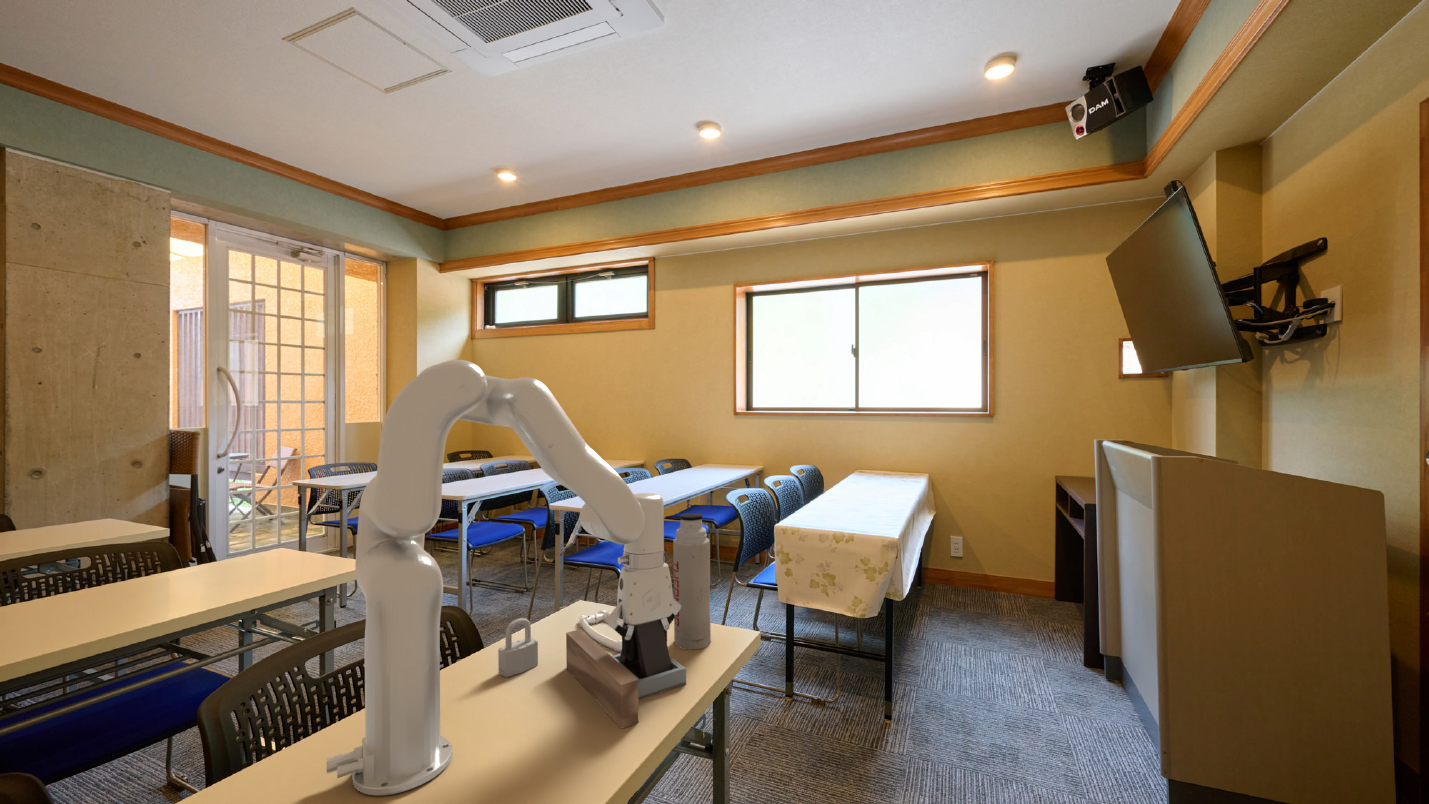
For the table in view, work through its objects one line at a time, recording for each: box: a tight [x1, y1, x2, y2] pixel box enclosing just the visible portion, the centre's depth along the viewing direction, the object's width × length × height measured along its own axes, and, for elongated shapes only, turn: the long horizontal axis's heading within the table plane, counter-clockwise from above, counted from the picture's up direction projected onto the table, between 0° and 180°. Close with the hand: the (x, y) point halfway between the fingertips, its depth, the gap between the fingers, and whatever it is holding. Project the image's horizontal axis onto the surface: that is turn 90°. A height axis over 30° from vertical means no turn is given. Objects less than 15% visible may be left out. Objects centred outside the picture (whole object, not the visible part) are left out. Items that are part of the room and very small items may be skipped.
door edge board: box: [565, 628, 639, 729], centre depth 103 cm, size 3×26×7 cm, turn 34°
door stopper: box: [619, 620, 672, 679], centre depth 108 cm, size 9×6×12 cm, turn 45°
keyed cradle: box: [611, 652, 687, 701], centre depth 108 cm, size 10×13×3 cm
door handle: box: [578, 609, 623, 653], centre depth 129 cm, size 3×10×25 cm
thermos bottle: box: [672, 512, 712, 650], centre depth 125 cm, size 8×8×28 cm
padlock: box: [497, 617, 539, 678], centre depth 112 cm, size 7×4×10 cm, turn 140°
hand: (645, 652), depth 108 cm, fingers closed on door stopper, 6 cm apart
